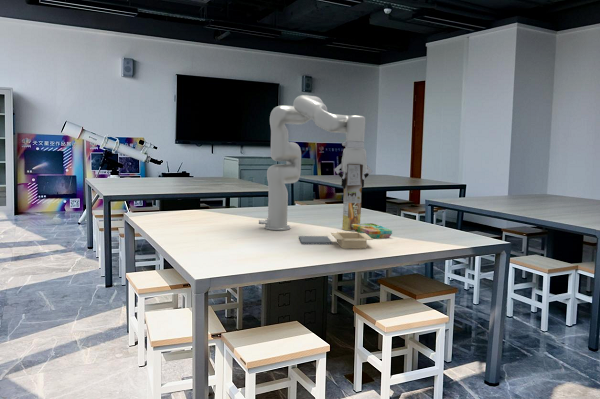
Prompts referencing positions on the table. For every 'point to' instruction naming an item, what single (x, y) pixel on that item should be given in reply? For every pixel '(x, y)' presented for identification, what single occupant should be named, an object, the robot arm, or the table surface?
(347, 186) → the coffee box
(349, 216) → the candy box
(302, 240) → the mat
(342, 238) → the carton
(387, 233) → the puzzle game
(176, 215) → the table surface
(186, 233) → the table surface
